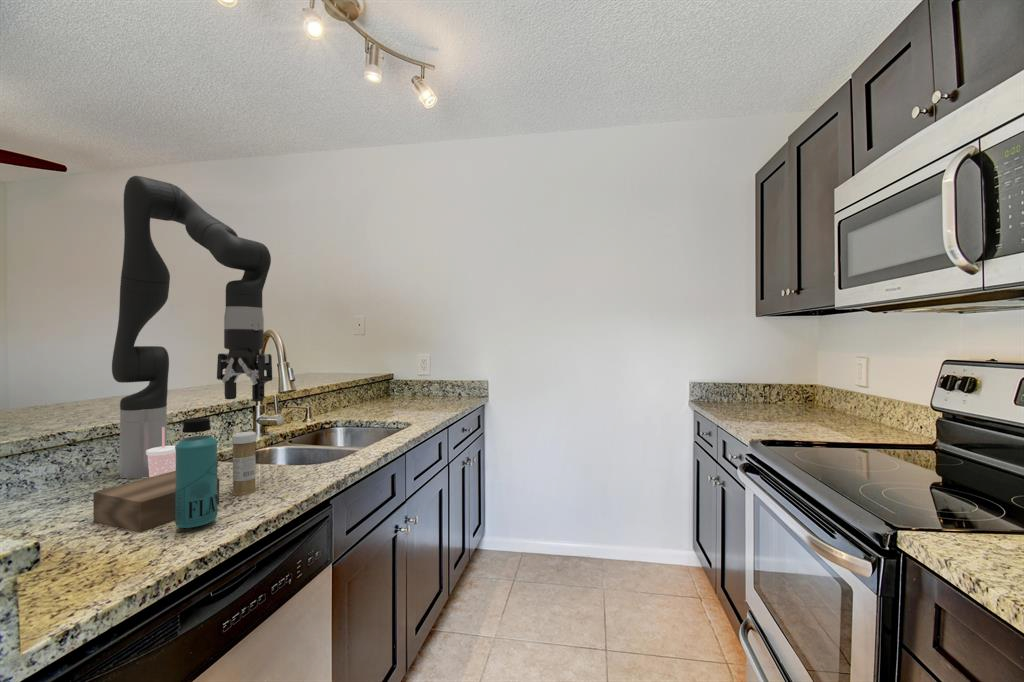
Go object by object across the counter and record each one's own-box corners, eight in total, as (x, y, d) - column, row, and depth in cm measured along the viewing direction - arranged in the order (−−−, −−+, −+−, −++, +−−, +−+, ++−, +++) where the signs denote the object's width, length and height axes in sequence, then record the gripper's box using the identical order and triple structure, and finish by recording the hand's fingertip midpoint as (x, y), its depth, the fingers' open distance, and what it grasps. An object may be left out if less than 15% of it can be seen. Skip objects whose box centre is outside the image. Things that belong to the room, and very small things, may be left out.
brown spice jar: (254, 488, 99) (254, 430, 99) (257, 493, 95) (257, 433, 95) (230, 492, 96) (230, 432, 96) (233, 498, 92) (233, 436, 92)
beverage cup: (153, 484, 101) (153, 425, 101) (184, 481, 103) (184, 423, 103) (140, 493, 95) (140, 430, 95) (173, 490, 97) (173, 428, 97)
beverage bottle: (183, 540, 73) (183, 423, 73) (167, 531, 76) (167, 419, 76) (225, 526, 78) (225, 418, 78) (208, 518, 82) (208, 414, 82)
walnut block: (93, 524, 80) (93, 492, 80) (174, 498, 93) (174, 470, 93) (140, 536, 75) (140, 502, 75) (219, 507, 88) (219, 478, 88)
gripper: (205, 327, 94) (205, 400, 94) (251, 327, 89) (251, 404, 89) (237, 328, 101) (237, 396, 101) (282, 328, 96) (282, 399, 96)
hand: (244, 400), depth 95 cm, fingers open, 8 cm apart
